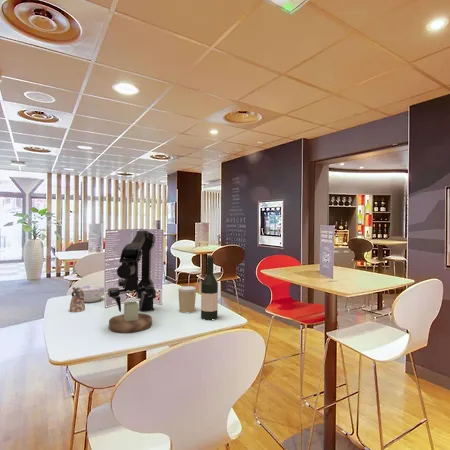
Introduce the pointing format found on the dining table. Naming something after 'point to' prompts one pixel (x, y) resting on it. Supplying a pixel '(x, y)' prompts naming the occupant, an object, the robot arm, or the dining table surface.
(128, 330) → the walnut base
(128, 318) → the sage block
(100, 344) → the dining table surface
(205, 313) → the wine bottle
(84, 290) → the paper bowls
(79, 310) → the figurine
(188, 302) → the coffee cup
